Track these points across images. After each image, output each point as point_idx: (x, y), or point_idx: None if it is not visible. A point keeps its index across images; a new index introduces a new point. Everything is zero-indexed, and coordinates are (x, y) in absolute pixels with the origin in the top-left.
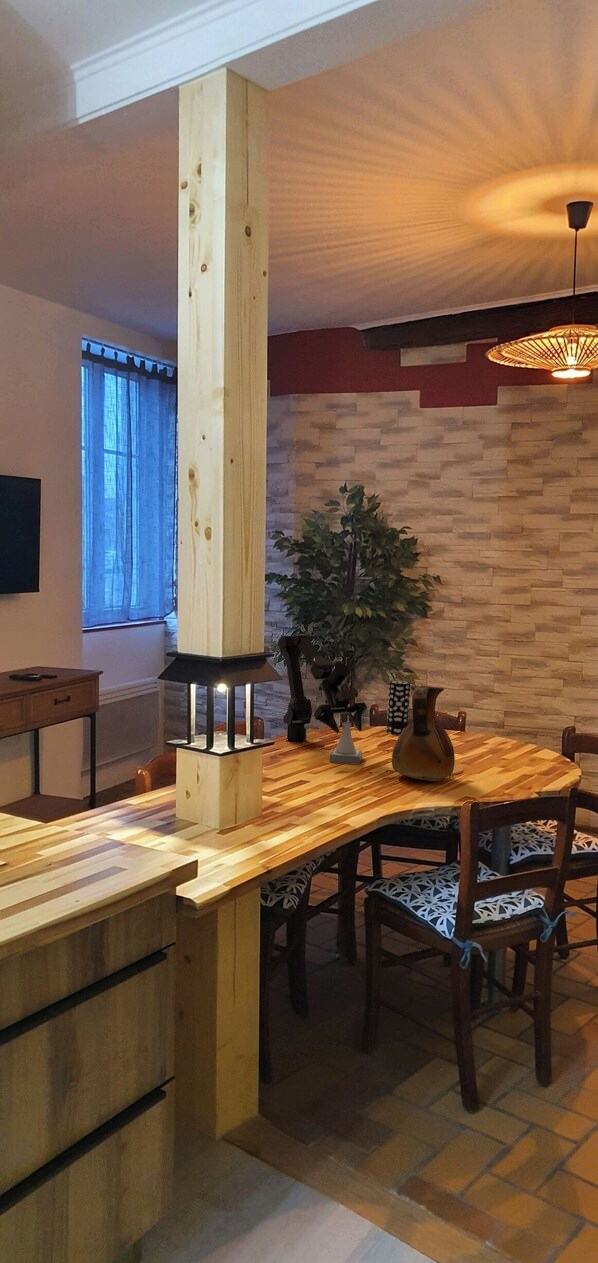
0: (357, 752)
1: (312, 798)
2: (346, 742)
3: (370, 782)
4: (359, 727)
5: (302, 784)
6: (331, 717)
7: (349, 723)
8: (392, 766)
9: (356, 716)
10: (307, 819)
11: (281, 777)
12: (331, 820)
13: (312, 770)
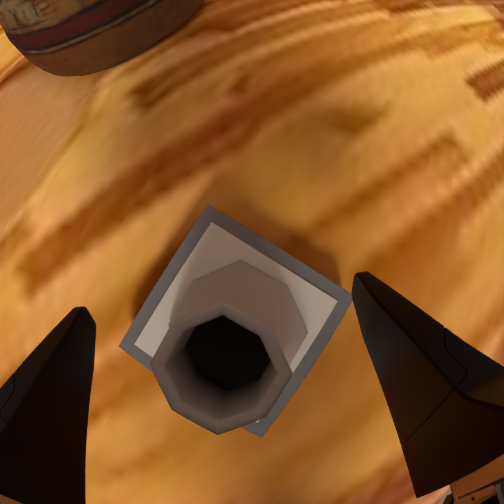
0: (168, 302)
1: (457, 8)
2: (254, 288)
3: (301, 13)
4: (79, 331)
5: (480, 71)
6: (490, 374)
7: (173, 379)
8: (195, 7)
9: (26, 449)
10: None
11: None
12: None
13: (450, 178)
